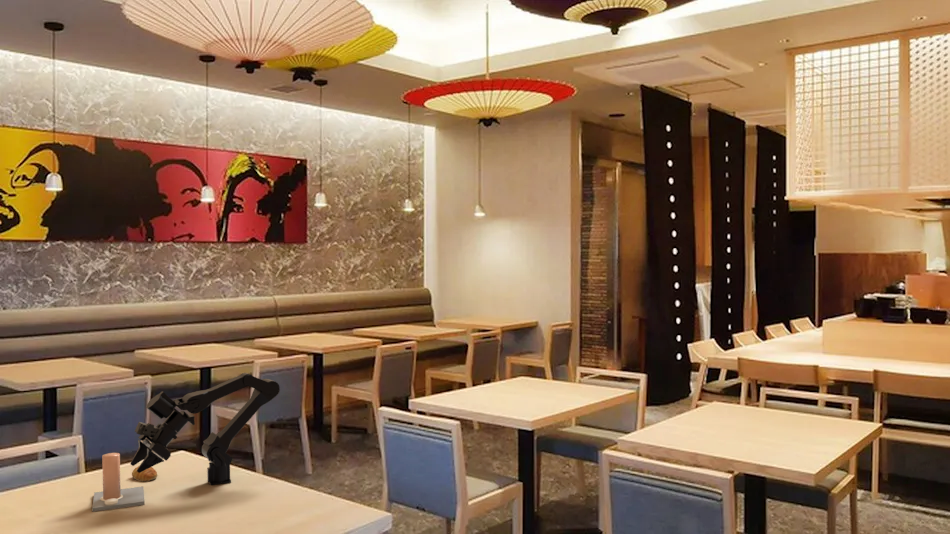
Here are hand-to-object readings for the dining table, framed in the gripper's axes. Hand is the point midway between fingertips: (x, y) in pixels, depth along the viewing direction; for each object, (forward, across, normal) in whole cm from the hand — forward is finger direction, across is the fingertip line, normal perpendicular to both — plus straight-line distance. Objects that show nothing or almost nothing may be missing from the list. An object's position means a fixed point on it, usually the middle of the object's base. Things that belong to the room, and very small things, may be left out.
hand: (134, 468), depth 236 cm
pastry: (+2, -20, +12) cm, 23 cm away
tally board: (+10, 0, +3) cm, 10 cm away
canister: (+10, 0, +1) cm, 10 cm away
